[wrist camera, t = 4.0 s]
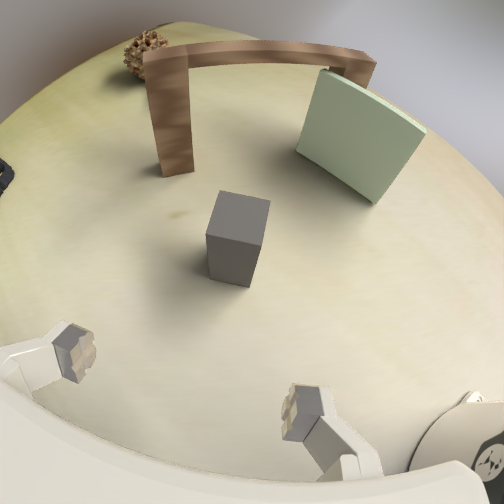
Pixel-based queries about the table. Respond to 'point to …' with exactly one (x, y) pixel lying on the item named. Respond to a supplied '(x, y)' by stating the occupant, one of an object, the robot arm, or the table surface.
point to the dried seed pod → (142, 50)
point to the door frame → (223, 53)
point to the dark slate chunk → (5, 175)
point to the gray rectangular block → (235, 237)
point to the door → (357, 135)
